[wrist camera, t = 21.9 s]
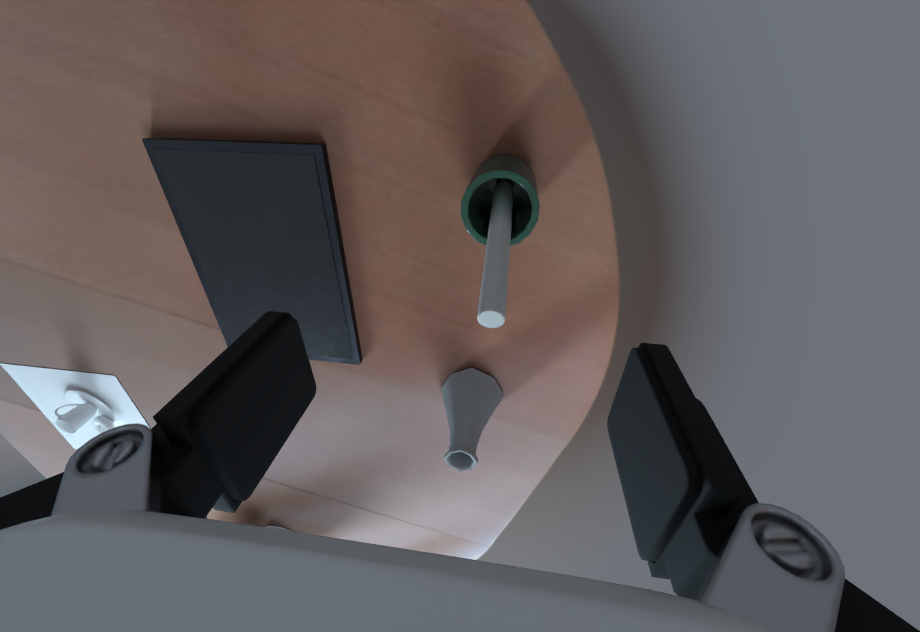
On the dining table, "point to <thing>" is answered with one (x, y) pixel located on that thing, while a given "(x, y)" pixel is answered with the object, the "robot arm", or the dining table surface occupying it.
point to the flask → (468, 413)
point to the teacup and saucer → (77, 401)
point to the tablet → (263, 235)
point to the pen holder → (481, 196)
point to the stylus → (497, 257)
